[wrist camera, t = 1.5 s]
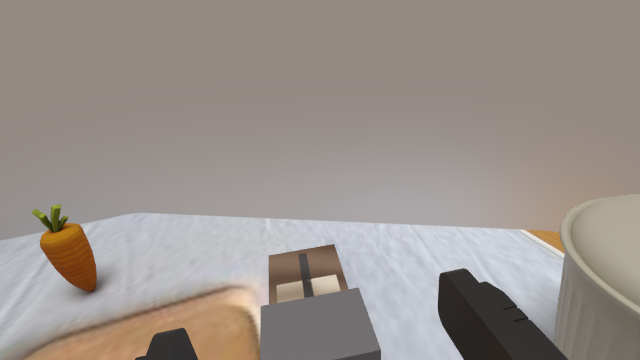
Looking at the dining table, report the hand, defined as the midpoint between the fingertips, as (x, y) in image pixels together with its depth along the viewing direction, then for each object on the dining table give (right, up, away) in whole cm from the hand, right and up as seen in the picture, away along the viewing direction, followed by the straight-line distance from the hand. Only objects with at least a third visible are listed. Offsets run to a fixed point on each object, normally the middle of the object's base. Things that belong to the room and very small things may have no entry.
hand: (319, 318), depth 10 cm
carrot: (-34, -13, +38) cm, 53 cm away
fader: (+1, -16, +16) cm, 23 cm away
